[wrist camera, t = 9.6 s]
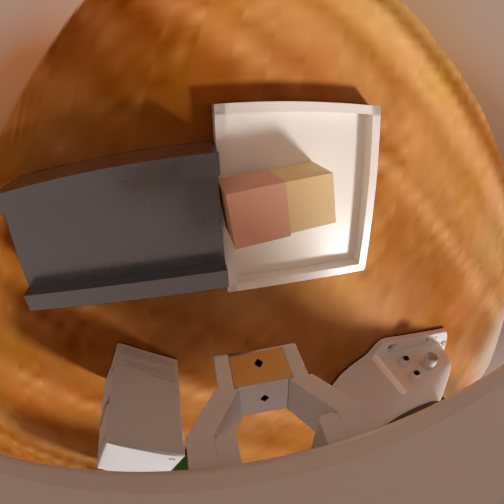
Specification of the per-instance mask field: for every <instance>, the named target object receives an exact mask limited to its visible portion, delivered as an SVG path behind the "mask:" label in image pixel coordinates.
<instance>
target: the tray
mask: <svg viewBox="0 0 504 504" xmlns="http://www.w3.org/2000/svg"><path fill="white" fill-rule="evenodd" d="M211 107H212V124H213V140H214V146H215V148H216V149H217V151H218V152H219V163H220V176H218V179H219V178H224V177H228V176H233V175H238V174H243V173H248V172H253V171H258V170H263V169H273V168H278V167H283V166H288V165H294V164H299V163H305V162H310V161H313V162H314V163H316V164H318V165H320V166H322V167H323V168H325V169H327V170H329V171H331V172H332V173H333V178H334V194H335V213H336V223H332V224H327V225H323V226H319V227H315V228H311V229H307V230H303V231H298V232H294V233H291V236H289V237H285V238H281V239H277V240H273V241H268V242H264V243H260V244H256V245H252V246H248V247H244V248H240V249H235V246H234V244H233V242H232V240H231V237H230V235H229V233H228V231H227V229H226V226H225V221H224V215H223V210H222V205H221V200H220V208H221V220H222V232H223V244H224V256H225V262H226V266H227V269H228V279H229V287H228V288H227V290H228V292H235V291H242V290H248V289H255V288H261V287H268V286H274V285H280V284H287V283H293V282H299V281H305V280H311V279H316V278H322V277H328V276H334V275H339V274H345V273H350V272H356V271H361V270H365V264H366V258H367V251H368V245H369V238H370V231H371V223H372V216H373V207H374V198H375V189H376V178H377V167H378V153H379V137H380V113H381V106H374V105H366V104H354V103H339V102H318V101H253V102H232V103H217V104H211Z"/></svg>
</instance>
